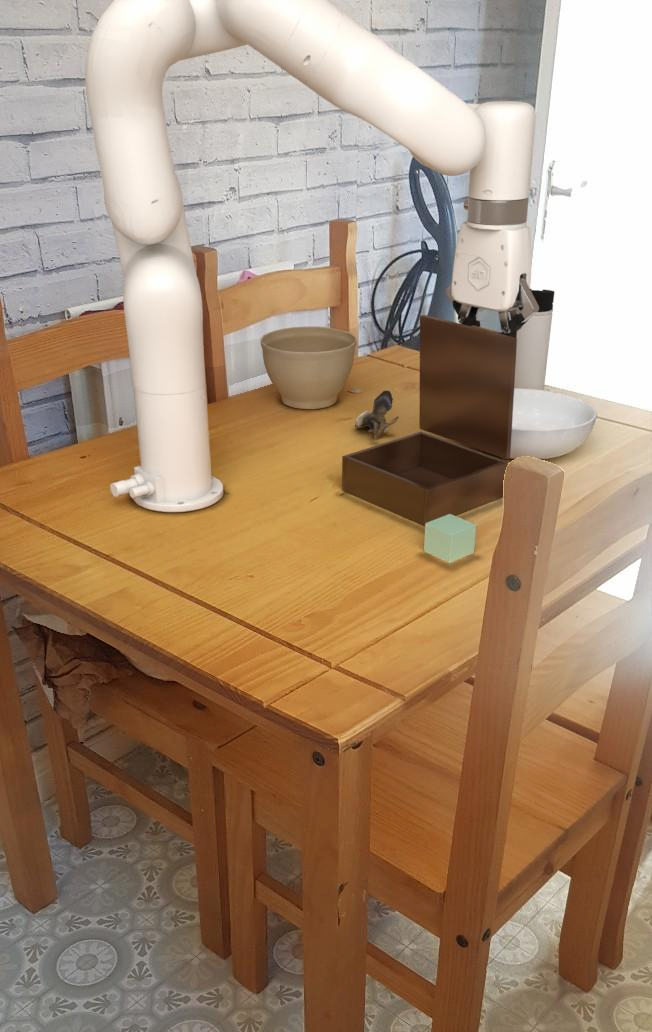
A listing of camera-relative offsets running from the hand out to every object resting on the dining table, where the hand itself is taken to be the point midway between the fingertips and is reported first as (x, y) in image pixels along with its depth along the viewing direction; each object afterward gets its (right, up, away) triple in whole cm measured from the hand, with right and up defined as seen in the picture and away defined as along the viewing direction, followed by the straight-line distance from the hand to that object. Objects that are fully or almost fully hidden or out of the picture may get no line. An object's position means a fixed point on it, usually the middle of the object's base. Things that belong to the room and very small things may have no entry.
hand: (486, 355), depth 140 cm
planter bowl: (-25, +4, +39) cm, 47 cm away
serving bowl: (+8, -9, +19) cm, 23 cm away
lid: (-3, -4, -1) cm, 6 cm away
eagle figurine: (-14, -5, +25) cm, 29 cm away
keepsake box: (-8, -19, +3) cm, 21 cm away
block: (-7, -29, -13) cm, 32 cm away
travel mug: (+12, +2, +36) cm, 38 cm away
